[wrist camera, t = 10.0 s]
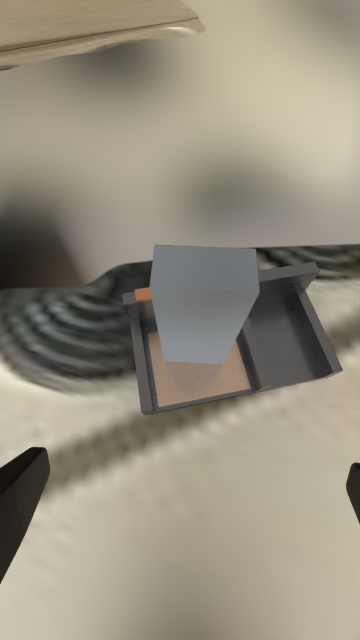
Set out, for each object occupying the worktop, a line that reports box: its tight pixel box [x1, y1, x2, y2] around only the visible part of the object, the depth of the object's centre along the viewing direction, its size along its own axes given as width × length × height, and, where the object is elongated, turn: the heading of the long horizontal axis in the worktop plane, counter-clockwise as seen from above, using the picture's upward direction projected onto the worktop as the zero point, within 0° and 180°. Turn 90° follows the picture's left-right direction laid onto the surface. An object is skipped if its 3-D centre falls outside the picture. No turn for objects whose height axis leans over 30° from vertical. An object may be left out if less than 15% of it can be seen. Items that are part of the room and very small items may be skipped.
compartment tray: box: [122, 262, 343, 415], centre depth 21 cm, size 8×16×5 cm, turn 101°
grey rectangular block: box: [149, 245, 260, 364], centre depth 18 cm, size 3×5×12 cm, turn 87°
